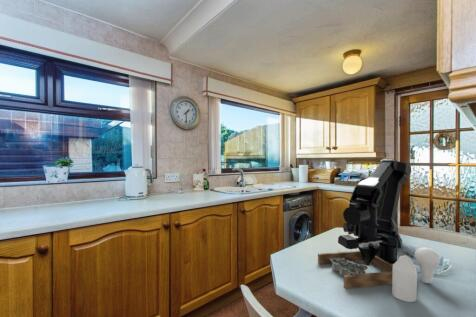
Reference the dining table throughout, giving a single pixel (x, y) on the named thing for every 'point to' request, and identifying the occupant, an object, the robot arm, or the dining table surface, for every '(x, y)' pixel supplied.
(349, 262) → the egg carton
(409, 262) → the roll
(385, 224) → the robot arm
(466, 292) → the dining table surface
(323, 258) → the open wooden frame
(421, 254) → the lightbulb
